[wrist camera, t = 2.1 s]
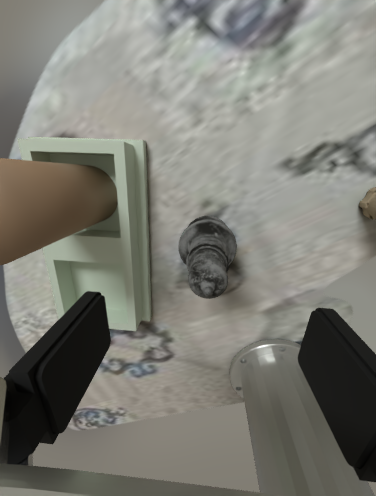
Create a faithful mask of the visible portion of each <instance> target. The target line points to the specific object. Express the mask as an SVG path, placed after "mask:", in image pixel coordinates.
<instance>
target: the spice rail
mask: <svg viewBox="0 0 376 496" xmlns="http://www.w3.org/2000/svg"><path fill="white" fill-rule="evenodd" d="M28 138H29V139H17V140H18V144H19V148H20V153H21V157H22V160H15V159H3V158H0V265H3V264H7V263H9V262H12V261H14V260H16V259H18V258H21V257H23V256H25V255H27V254H30V253H32V252H34V251H36V250H38V249H41V248H42V250H43V254H44V258H45V263H46V267H47V272H48V276H49V280H50V285H51V289H52V293H53V298H54V302H55V307H56V311H57V315H58V320H59V319H60V318H61V317H62V316H63V315H64V314H65V313H66V312H67V311H68V310H69V309H70V308H71V307H72V306H73V305H74V303H75V302H76V301H77V300H78V299H79V298H80V297H81V296H82V295H83V294H84V293H85V292H87V291H92V292H100V293H101V295H103V296H104V297H105V302H106V310H107V317H108V324H109V329H118V330H129V331H137V329H138V326H139V324H140V322H141V321H150V319H151V317H152V316H151V285H150V255H149V224H148V193H147V163H146V141H144V140H122V139H85V138H48V137H28Z"/></svg>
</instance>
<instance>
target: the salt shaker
mask: <svg viewBox="0 0 376 496" xmlns="http://www.w3.org/2000/svg"><path fill="white" fill-rule="evenodd" d="M236 248H237V244H236V239H235V237H234V235H233V233H232V231H231V230H230V229H229V228H228V227H227V226H226V225H225V223H224V222H223V221H221V220H220V219H218V218H216V217H213V216H203V217H199V218H197V219H195V220H194V221H192V222H191V223H190V224H189V226H188V228H186V229H185V230H184V232H183V234H182V235H181V238H180V241H179V253H180V256H181V259H182V260H183V262H184V263H185V264H186V265H187V269H188V271H189V275H188V282H189V285H190V288H191V289H192V291H193V292H194V293H195V294H196V295H198V296H200V297H203V298H209V299H210V298H215V297H218V296H220V295H221V294H222V293H223V292H224V291H225V289H226V287H227V283H228V277H227V271H228V268H229V265H230V263H231V262H232V261H233V259H234V257H235V254H236Z"/></svg>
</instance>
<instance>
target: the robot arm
mask: <svg viewBox="0 0 376 496" xmlns="http://www.w3.org/2000/svg"><path fill="white" fill-rule="evenodd" d="M110 342H111V339H110V331H109V324H108V317H107V310H106V302H105V297H104V296H103V295H101V293H100V292H92V291H87V292H85V293H84V294H83V295H82V296H81V297H80V298H79V299H78V300H77V301H76V302H75V303H74V305H73V306H72V307H71V308H70V309H69V310H68V311H67V312H66V313H65V314H64V315H63V316H62V317H61V318H60V319H59V320H58V321H57V322H56V323H55V324H54V325H53V326H52V327H51V328H50V329H49V330H48V331H47V332H46V333H45V334H44V335H43V337H42V338H41V339H40V340H39V341H38V342H37V343H36V344H35V345H34V346H33V347H32V348H31V349H30V350H29V351H28V352H27V353H26V354H25V355H24V356H23V357H22V358H21V359H20V360H19V361H18V362H17V363H16V364H15V366H13V367H12V369H11V370H10V371H9V374H8V375H7V376H6V377H5V378H4V379H3V378H2V377H0V496H375V495H374V493H373V491H372V489H371V487H370V486H369V483H368V481H371V482H376V354H375V353H374V352H373V351H372V350H371V349H370V348H369V347H368V346H367V345H366V344H365V342H364V341H363V340H361V338H360V337H359V336H358V335H357V334H356V333H355V332H354V331H353V330H352V328H351V327H350V326H349V325H348V324H347V323H346V322H345V321H344V320H343V319H342V318H341V317H340V316H339V314H338V313H337V312H336V311H335V310H333V309H327V308H317V309H316V310H315V311H313V312H312V313H311V316H310V319H309V322H308V325H307V328H306V331H305V335H304V338H303V341H302V344H301V345H300V344H298V343H295V342H291V341H288V340H280V339H270V340H264V341H259V342H256V343H253V344H251V345H249V346H247V347H245V348H244V349H242V350H241V351H240V352H239V353H238V354H237V355H236V356H235V357H234V359H233V361H232V362H231V365H230V381H231V385H232V387H233V389H234V390H235V392H236V393H237V394H238V395H239V396H240V397H241V398H243V399H244V401H245V407H246V413H247V419H248V424H249V430H250V436H251V442H252V448H253V453H254V460H255V466H256V472H257V478H258V484H259V490H260V493H259V492H251V491H242V490H235V489H227V488H219V487H211V486H202V485H195V484H186V483H179V482H171V481H163V480H155V479H146V478H138V477H129V476H121V475H112V474H104V473H95V472H87V471H78V470H69V469H59V468H47V467H38V466H33V452H34V451H35V449H36V447H37V446H38V444H39V443H47V444H53V443H54V442H55V440H56V438H57V436H58V434H59V433H62V432H64V430H65V429H66V427H67V426H68V424H69V422H70V420H71V418H72V416H73V414H74V412H75V411H76V409H77V407H78V405H79V403H80V401H81V399H82V397H83V396H84V394H85V392H86V390H87V388H88V386H89V384H90V382H91V381H92V379H93V377H94V375H95V373H96V371H97V369H98V367H99V366H100V364H101V362H102V360H103V358H104V356H105V354H106V352H107V351H108V349H109V346H110Z"/></svg>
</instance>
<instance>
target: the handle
mask: <svg viewBox="0 0 376 496" xmlns="http://www.w3.org/2000/svg"><path fill="white" fill-rule="evenodd" d="M359 206H360V207H361V208H362V209H363V215H364V216H366V217H368V218H370V219H375V220H376V187H375V188H372V189H370V190H369V191H368V192H367V195H366V196H365V198H364V199H363V200H362V201H360V204H359Z"/></svg>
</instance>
